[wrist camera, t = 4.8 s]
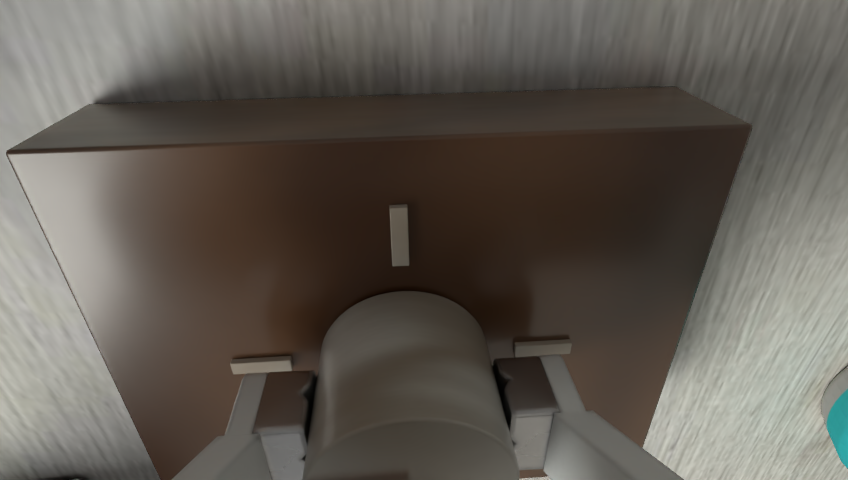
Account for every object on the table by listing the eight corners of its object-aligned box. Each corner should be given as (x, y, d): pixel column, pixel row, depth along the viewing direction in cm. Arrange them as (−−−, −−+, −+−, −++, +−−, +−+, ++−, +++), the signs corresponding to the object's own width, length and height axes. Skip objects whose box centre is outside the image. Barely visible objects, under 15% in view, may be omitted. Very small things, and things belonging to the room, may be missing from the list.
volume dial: (490, 284, 11) (535, 426, 8) (482, 406, 13) (514, 557, 10) (310, 294, 11) (280, 445, 8) (330, 416, 13) (314, 575, 10)
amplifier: (677, 85, 12) (761, 127, 10) (599, 394, 18) (638, 475, 15) (86, 103, 11) (-4, 154, 9) (202, 421, 17) (169, 511, 14)
